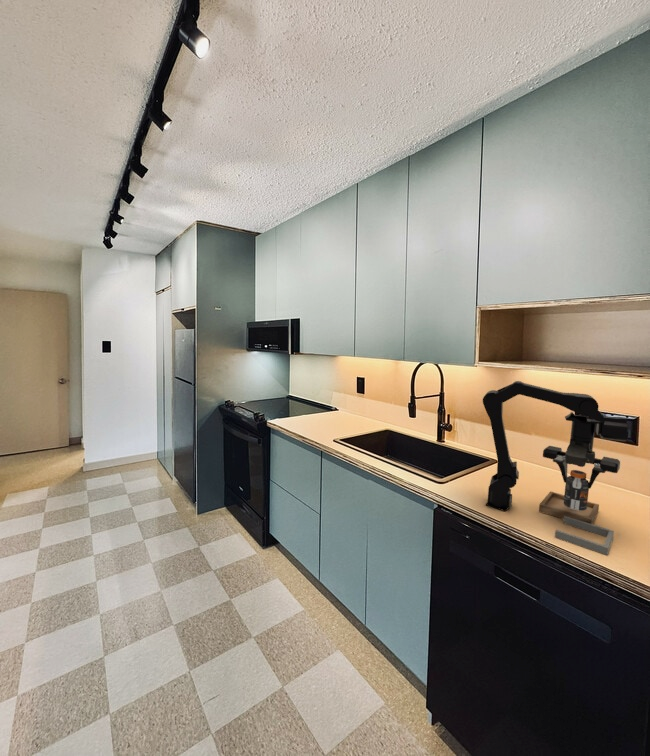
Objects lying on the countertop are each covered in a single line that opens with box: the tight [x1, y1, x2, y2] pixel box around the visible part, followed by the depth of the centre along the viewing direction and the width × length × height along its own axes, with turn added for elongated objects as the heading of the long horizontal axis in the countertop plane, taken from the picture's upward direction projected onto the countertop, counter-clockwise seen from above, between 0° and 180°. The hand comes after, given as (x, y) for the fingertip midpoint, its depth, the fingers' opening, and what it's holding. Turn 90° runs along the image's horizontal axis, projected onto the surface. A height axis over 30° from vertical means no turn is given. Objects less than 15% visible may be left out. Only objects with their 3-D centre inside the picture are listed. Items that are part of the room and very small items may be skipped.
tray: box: [538, 491, 600, 525], centre depth 118 cm, size 14×14×2 cm
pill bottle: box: [563, 469, 590, 511], centre depth 111 cm, size 6×6×11 cm
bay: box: [554, 516, 615, 556], centre depth 103 cm, size 12×12×2 cm
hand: (577, 485), depth 111 cm, fingers closed on pill bottle, 6 cm apart
